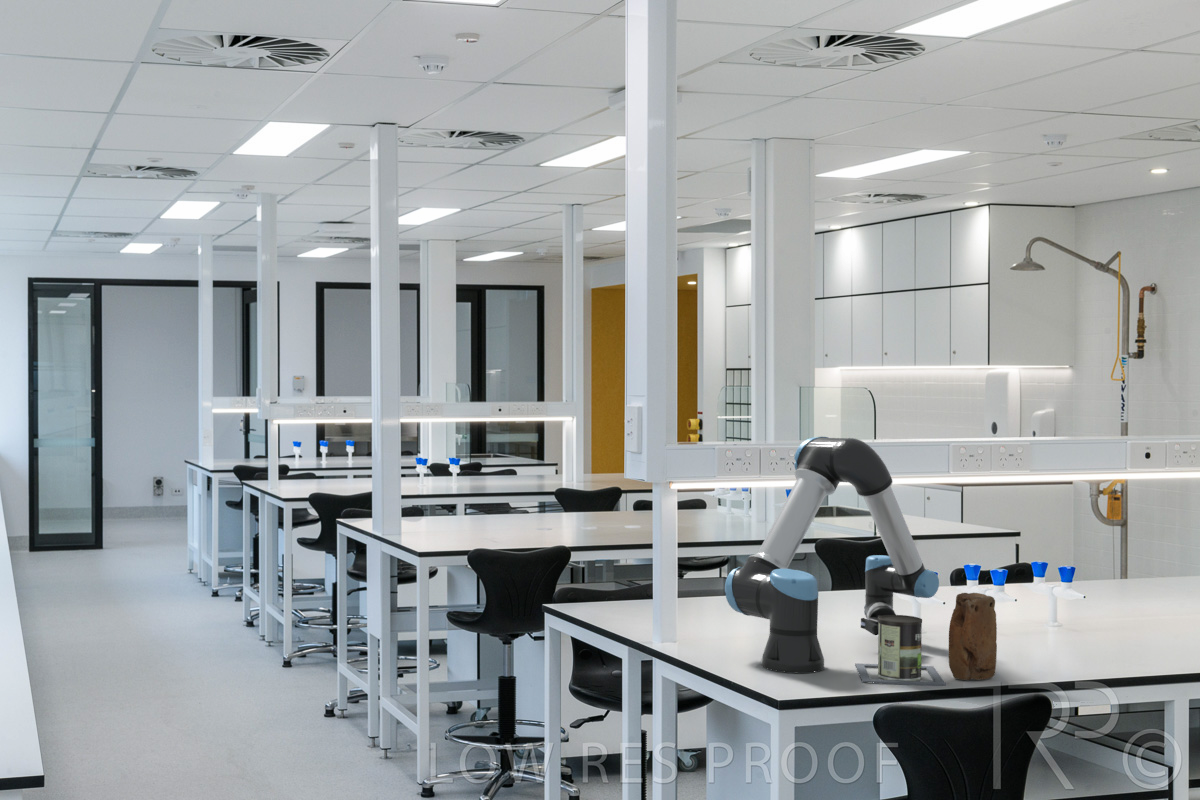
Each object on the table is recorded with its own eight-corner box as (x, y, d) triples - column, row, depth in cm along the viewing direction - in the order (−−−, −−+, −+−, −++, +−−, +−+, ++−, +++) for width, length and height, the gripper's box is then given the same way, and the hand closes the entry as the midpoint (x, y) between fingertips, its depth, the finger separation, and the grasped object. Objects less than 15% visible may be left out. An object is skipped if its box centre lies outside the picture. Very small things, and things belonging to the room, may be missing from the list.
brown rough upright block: (975, 672, 295) (976, 590, 295) (999, 679, 289) (1000, 595, 289) (943, 677, 290) (944, 593, 290) (967, 683, 283) (968, 598, 283)
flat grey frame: (862, 682, 283) (862, 680, 283) (855, 665, 302) (855, 663, 302) (946, 686, 281) (946, 683, 281) (933, 668, 300) (933, 666, 300)
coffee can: (922, 674, 293) (923, 616, 293) (920, 683, 283) (921, 623, 283) (879, 670, 296) (879, 613, 296) (875, 680, 286) (876, 620, 286)
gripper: (906, 634, 327) (917, 653, 304) (857, 631, 329) (864, 650, 306) (907, 606, 327) (917, 623, 304) (858, 603, 329) (864, 620, 305)
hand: (890, 636), depth 305 cm, fingers closed
